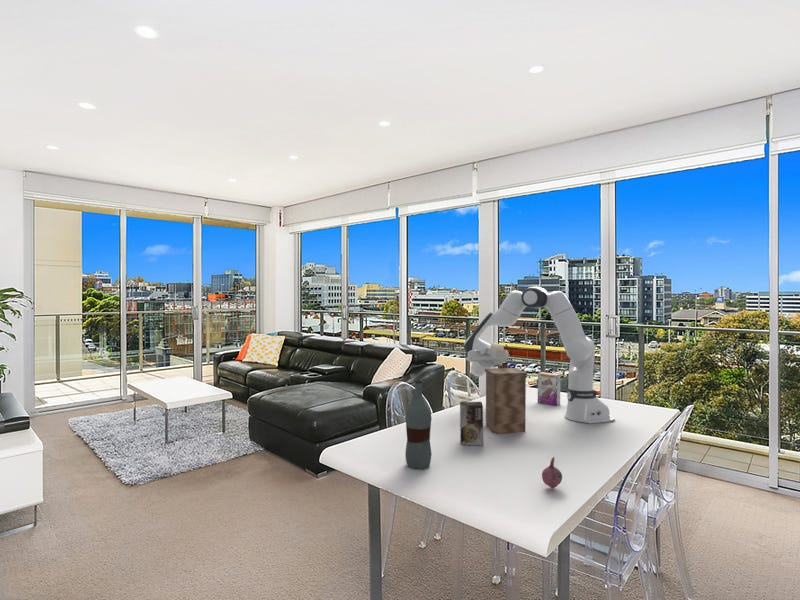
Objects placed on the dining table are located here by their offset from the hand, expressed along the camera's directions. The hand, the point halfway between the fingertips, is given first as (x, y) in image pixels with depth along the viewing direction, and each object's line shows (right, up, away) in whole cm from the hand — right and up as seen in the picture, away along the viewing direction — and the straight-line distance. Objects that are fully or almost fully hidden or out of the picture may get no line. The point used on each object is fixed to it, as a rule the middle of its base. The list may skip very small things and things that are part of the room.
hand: (491, 349), depth 227 cm
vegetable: (+2, -35, -82) cm, 89 cm away
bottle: (-38, -34, -63) cm, 81 cm away
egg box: (0, -2, -4) cm, 5 cm away
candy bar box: (+37, -33, +30) cm, 58 cm away
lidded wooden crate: (+2, -33, -19) cm, 38 cm away
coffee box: (-16, -34, -38) cm, 53 cm away
